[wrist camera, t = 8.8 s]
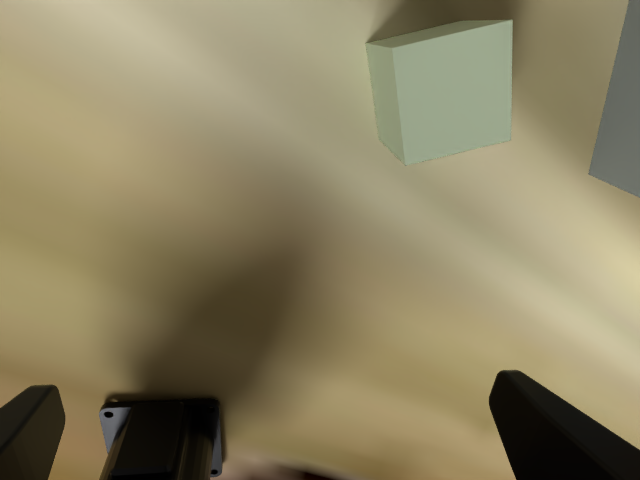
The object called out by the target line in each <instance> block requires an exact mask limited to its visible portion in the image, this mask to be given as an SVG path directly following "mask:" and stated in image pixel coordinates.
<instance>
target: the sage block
mask: <svg viewBox="0 0 640 480" xmlns="http://www.w3.org/2000/svg"><path fill="white" fill-rule="evenodd" d="M512 21H513V20H470V21H458V22H454V23H449V24H445V25H441V26H437V27H433V28H428V29H424V30H420V31H416V32H411V33H407V34H403V35H399V36H395V37H390V38H386V39H382V40H378V41H373V42H369V43H366V50H367V57H368V64H369V71H370V78H371V86H372V93H373V100H374V107H375V114H376V121H377V128H378V135H379V140H380V141H381V142H382V143H383V144H384V145H385V146H386V147H387V148H388V149H389V150H390V151H391V152H392V153H393V154H394V155H395V156H396V157H397V158H398V159H399V160H400V161H401V162H402V163H403V164H404V165H405V166H406V165H411V164H415V163H419V162H423V161H427V160H431V159H436V158H440V157H444V156H448V155H452V154H456V153H460V152H465V151H469V150H473V149H477V148H481V147H485V146H490V145H494V144H498V143H502V142H506V141H510V140H511V106H512Z"/></svg>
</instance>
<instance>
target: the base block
mask: <svg viewBox="0 0 640 480" xmlns="http://www.w3.org/2000/svg"><path fill="white" fill-rule="evenodd" d="M588 174H589V175H591V176H593V177H595V178H598V179H600V180H602V181H604V182H606V183H609V184H611V185H613V186H615V187H617V188H620V189H622V190H624V191H626V192H628V193H631V194H633V195H635V196H637V197H639V198H640V0H629V3H628V7H627V12H626V16H625V20H624V24H623V29H622V33H621V37H620V41H619V46H618V50H617V54H616V58H615V63H614V67H613V71H612V75H611V80H610V84H609V88H608V92H607V97H606V101H605V105H604V109H603V114H602V118H601V122H600V126H599V131H598V135H597V139H596V143H595V148H594V152H593V156H592V160H591V165H590V169H589V173H588Z"/></svg>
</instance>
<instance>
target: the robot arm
mask: <svg viewBox="0 0 640 480" xmlns="http://www.w3.org/2000/svg"><path fill="white" fill-rule="evenodd" d="M489 406H490V410H491V413H492V415H493V418H494V421H495V424H496V426H497V429H498V432H499V435H500V437H501V440H502V443H503V446H504V448H505V451H506V454H507V457H508V459H509V462H510V465H511V467H512V470H513V472H514V475H515V477H516V480H640V450H639V449H637V448H636V447H634V446H633V445H631V444H630V443H628V442H627V441H625V440H624V439H622V438H621V437H619V436H618V435H616V434H615V433H613V432H612V431H610V430H609V429H607V428H606V427H604V426H603V425H601V424H600V423H598V422H597V421H595V420H594V419H592V418H591V417H589V416H588V415H586V414H584V413H583V412H581V411H580V410H578V409H577V408H575V407H574V406H572V405H571V404H569V403H568V402H566V401H565V400H563V399H562V398H560V397H559V396H557V395H556V394H554V393H553V392H551V391H550V390H548V389H547V388H545V387H544V386H542V385H541V384H539V383H538V382H536V381H535V380H533V379H532V378H530V377H529V376H527V375H525V374H524V373H522V372H521V371H518V370H502V371H500V372H499V373H498V374H497V376H496V379H495V382H494V385H493V387H492V390H491V393H490V396H489ZM209 407H213V408H209ZM99 417H100V421H101V426H102V430H103V435H104V439H105V444H106V448H107V453H108V456H107V459H106V462H105V465H104V468H103V470H102V473H101V476H100V479H99V480H210V477H217V476H219V475H220V474H221V473H222V441H221V417H220V403H219V401H218V400H216V399H212V398H208V399H183V400H159V401H134V402H110V403H106V404H104V405H103V406H102V407H101V410H100V412H99ZM64 426H65V412H64V409H63V405H62V401H61V397H60V394H59V390H58V388H57V387H56V386H55V385H33V386H30V387H28V388H27V389H25V390H24V391H23V392H21V393H20V394H19V395H17V396H16V397H15V398H13V399H12V400H11V401H9V402H8V403H7V404H5V405H4V406H2V407H1V408H0V480H48V477H49V474H50V471H51V468H52V464H53V461H54V458H55V455H56V452H57V449H58V445H59V442H60V439H61V436H62V433H63V430H64Z"/></svg>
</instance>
